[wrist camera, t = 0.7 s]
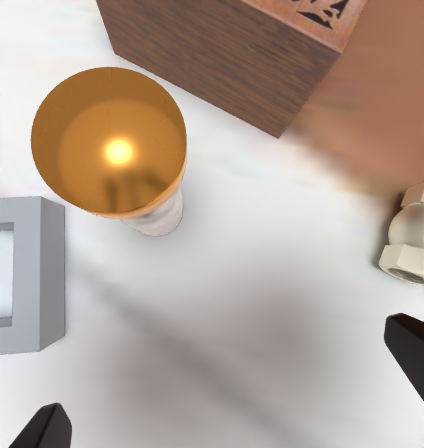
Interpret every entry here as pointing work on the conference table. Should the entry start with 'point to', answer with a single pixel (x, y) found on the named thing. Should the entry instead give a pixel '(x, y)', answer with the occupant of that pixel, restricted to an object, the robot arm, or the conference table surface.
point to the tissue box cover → (236, 49)
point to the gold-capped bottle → (114, 147)
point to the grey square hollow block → (34, 274)
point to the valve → (407, 239)
